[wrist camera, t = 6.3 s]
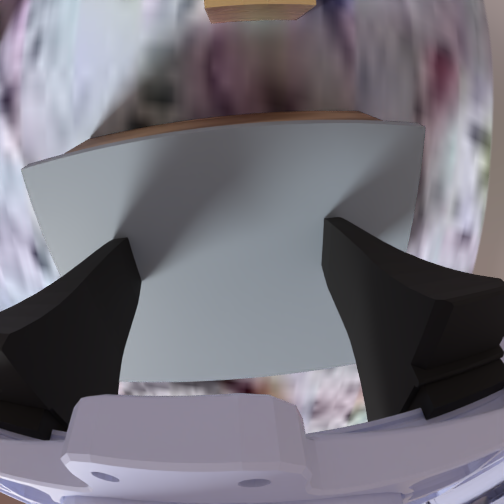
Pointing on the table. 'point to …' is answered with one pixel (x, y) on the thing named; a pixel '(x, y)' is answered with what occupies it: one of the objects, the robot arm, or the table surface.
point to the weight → (256, 10)
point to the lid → (231, 235)
